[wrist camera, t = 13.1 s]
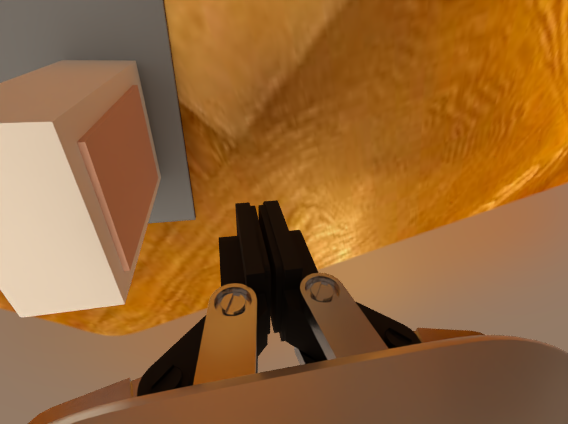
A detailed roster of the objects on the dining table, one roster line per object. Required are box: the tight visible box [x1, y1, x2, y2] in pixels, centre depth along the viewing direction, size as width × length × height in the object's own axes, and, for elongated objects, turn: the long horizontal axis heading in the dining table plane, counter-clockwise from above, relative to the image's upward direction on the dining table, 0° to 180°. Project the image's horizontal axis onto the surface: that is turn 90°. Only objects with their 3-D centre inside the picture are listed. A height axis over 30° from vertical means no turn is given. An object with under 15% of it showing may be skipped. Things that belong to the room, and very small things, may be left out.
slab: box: [0, 60, 161, 317], centre depth 15 cm, size 4×8×12 cm, turn 178°
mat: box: [0, 0, 195, 223], centre depth 20 cm, size 18×16×1 cm
